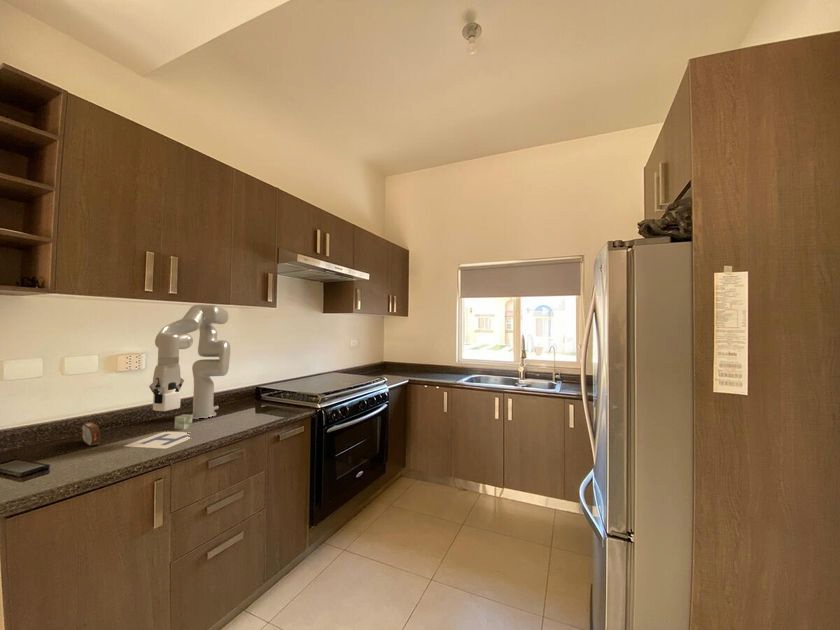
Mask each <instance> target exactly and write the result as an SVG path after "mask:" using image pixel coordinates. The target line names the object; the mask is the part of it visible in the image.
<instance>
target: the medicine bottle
mask: <svg viewBox="0 0 840 630" xmlns="http://www.w3.org/2000/svg"><path fill="white" fill-rule="evenodd" d="M160 387H161V386H160ZM159 390H160V389H159ZM175 390H176V382H172V383H169V384H168V386H167V387H166V388H164V389H163V391H162V393H161V394H162V403H161V404H159V403H154V400H155V394H153V398H152V410H153V411H158V412H169V411H172V410H175V409H177V410H178V409H180V408H181V399H182V398H181V395H182V394H181V393H182V392H181V391H179V392H175Z"/></svg>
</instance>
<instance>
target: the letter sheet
mask: <svg viewBox="0 0 840 630" xmlns="http://www.w3.org/2000/svg"><path fill="white" fill-rule="evenodd" d="M187 432H188V431H187ZM187 432H185V431H184V432H183V431H167V432H166V431H165V430H164V431H162V432H159V433H156V434H155V435H151V436H148V437H146V438H142V439H140V440H137V441H134V442H131V443H128V444H126V445H124V447H129V448H130V447H132V448H147V449H165V450H166V449H168V448H171V447H174V446H176V445H178V444H181V443H183V442H186V441H188V439H189V440H190V437H188V435H189V434H187ZM189 436H190V435H189Z"/></svg>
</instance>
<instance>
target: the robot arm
mask: <svg viewBox="0 0 840 630" xmlns="http://www.w3.org/2000/svg"><path fill="white" fill-rule="evenodd" d="M229 318H230V317H229V313H228V311H227V310H226V309H225V308H223V307H221V306H219V305H217V304H216V305H215V304H195V305H191V307H190V308H189V309H188V311H187V312H186V313H185V315H183V317H182V318H180V319H178V320H176V321H173V322H171V323H169V324H167V325H165V326H164V327H162V329H160V331H159V332H158V333H157V335H156V337H155V339H154V345H155V347H156V348H157V365H155V368H154V370H153V371H154V372H153V377H152V383H151V384H149V386H148V387H149V389H150V390H151V392H152V394H153V395H154V394H155V400H154V403H159V404H161V403H162V394H161V393H162V391H163V389H164V388H166V387H167V386H168V384H169V383H172V382H176V390H175V392H180V391H181V388H182V386H183V383H184V382H185V379H183V378H182V377H181V366H180V363H179V362H180V350H187V349H189V348H191V347H192V345H193V344H194V339H193V336H192V335H191V334H190V333H193V332H197V330H199V338H198V345H197V346H198V347H197V354H198V356H199V357H202V358H207V359H198V360H197V359H196V361H194V362H193V364H192V365H191V370H192V371H191V372H192V376H193V377H192V378H193V396H192V397H193V399H192V413H191V414H190V415H192V420H200V419H199V418H204V419H209V418H208V417H210V418H212V416H213V417H215V416H217V412H216V410H218V409H219V408H220V407H219V405H215V406H214V397H215V395H214V393H215V390H214V389H215V384H214V381H213V379H212V378H211V377H225V376H226V375H227V374H228V372H229V367H230V358H231V345H230V342H229V341H227V340H221V339H220V340H219V339H218V331H217V329H216V328H215V327H214V325H224V324H226V323H228V320H229ZM208 358H211V359H208ZM213 358H214V359H213ZM215 358H218V359H215ZM160 386H161V387H160ZM159 389H160V390H159Z"/></svg>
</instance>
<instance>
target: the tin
mask: <svg viewBox="0 0 840 630" xmlns="http://www.w3.org/2000/svg"><path fill="white" fill-rule="evenodd" d="M81 429H82V430H81V431H82V435H81V437H82V439H83V442H84V443H85V444H86V445H87V446H89V447H93V445H94V446H97V445H98V446H99V444H100V441H101V433H100V429H99V425H97V424H96V423H94V422H93V421H91V422H85V423H84V424H82V426H81Z"/></svg>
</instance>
